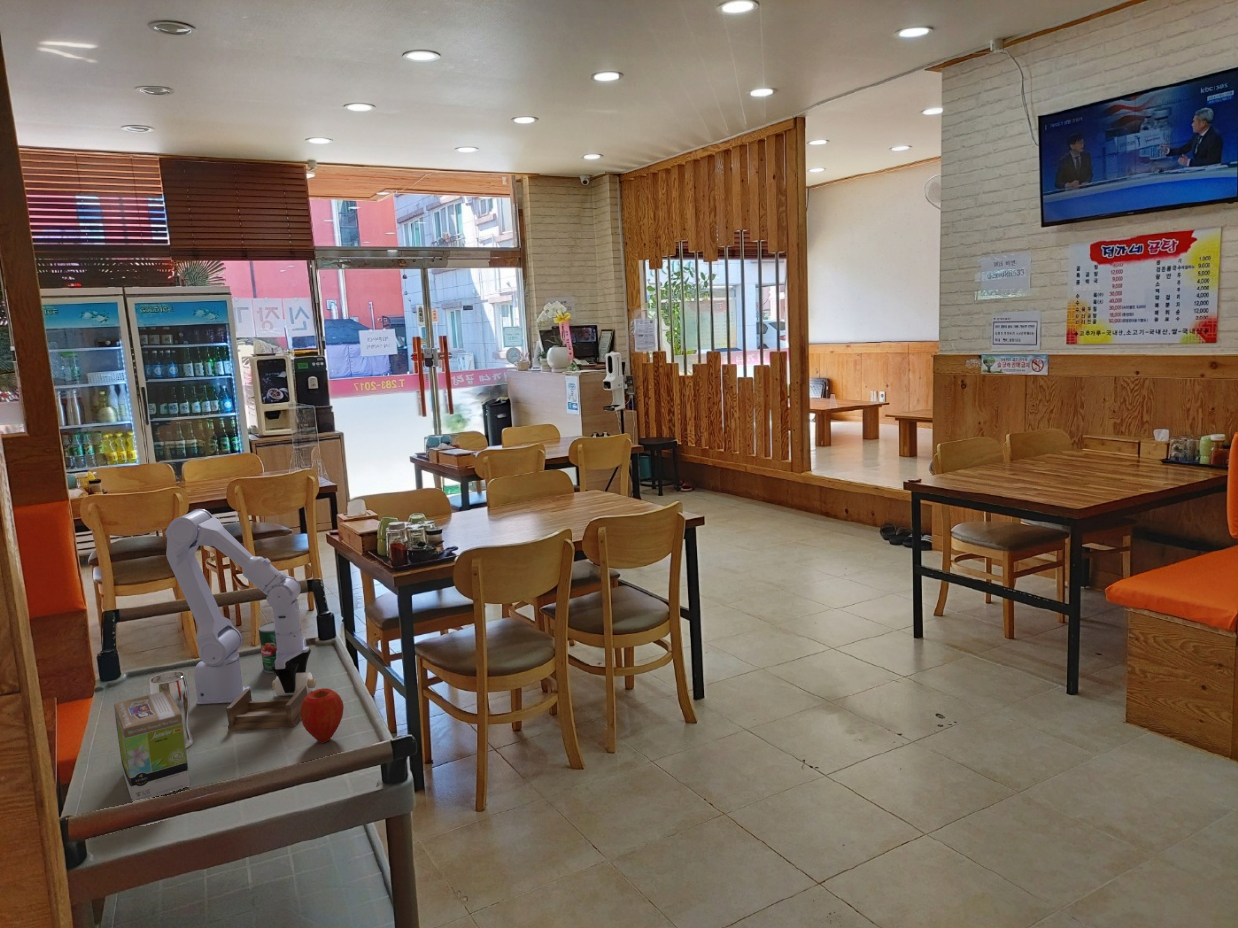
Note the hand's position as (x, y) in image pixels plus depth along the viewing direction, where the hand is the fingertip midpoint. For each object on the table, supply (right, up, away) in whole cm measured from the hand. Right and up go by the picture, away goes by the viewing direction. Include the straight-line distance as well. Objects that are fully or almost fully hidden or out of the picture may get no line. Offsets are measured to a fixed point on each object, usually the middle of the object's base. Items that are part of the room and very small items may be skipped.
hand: (294, 686), depth 205 cm
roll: (0, +1, -1) cm, 1 cm away
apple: (+15, -5, -24) cm, 29 cm away
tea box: (-13, -9, -37) cm, 40 cm away
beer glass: (-16, -7, -23) cm, 29 cm away
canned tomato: (-10, 0, +17) cm, 20 cm away
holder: (-1, -4, -13) cm, 13 cm away
